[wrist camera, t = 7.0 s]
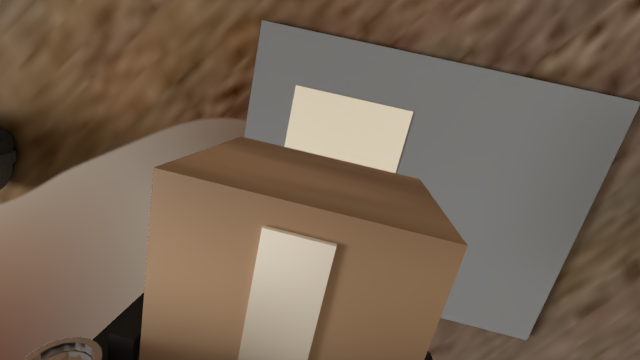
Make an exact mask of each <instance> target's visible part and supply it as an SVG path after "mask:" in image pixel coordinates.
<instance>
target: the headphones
mask: <svg viewBox="0 0 640 360" xmlns="http://www.w3.org/2000/svg"><path fill="white" fill-rule="evenodd" d="M13 147H14V141H13V138H12V137H11V135H10V134H9V133H7V132H6V131H4V130H2V129H0V189H2V188H3V187H4V186H5V185H6V184H7V183H8V181H9V180H10V177H11V174H12V165H13V163H15V161H16V151H15V150H14V149H13Z"/></svg>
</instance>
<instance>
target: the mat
mask: <svg viewBox="0 0 640 360" xmlns="http://www.w3.org/2000/svg"><path fill="white" fill-rule="evenodd" d="M639 106H640V102H638V101H633V100H629V99H624V98H619V97H615V96H610V95H606V94H601V93H596V92H592V91H587V90H582V89H578V88H573V87H569V86H564V85H559V84H555V83H550V82H546V81H541V80H536V79H532V78H527V77H522V76H518V75H513V74H509V73H504V72H499V71H495V70H490V69H485V68H481V67H476V66H472V65H467V64H462V63H458V62H453V61H448V60H444V59H439V58H435V57H430V56H425V55H421V54H416V53H411V52H407V51H402V50H398V49H393V48H388V47H384V46H379V45H375V44H370V43H365V42H361V41H356V40H351V39H347V38H342V37H338V36H333V35H328V34H324V33H319V32H314V31H310V30H305V29H301V28H296V27H291V26H287V25H282V24H277V23H273V22H268V21H264V20H262V23H261V30H260V36H259V43H258V49H257V56H256V63H255V69H254V76H253V82H252V89H251V95H250V102H249V109H248V115H247V122H246V129H245V135H244V137H246V138H250V139H254V140H258V141H262V142H267V143H271V144H275V145H279V146H283V147H288V148H292V149H296V150H300V151H304V152H308V153H313V154H317V155H321V156H325V157H329V158H334V159H338V160H342V161H346V162H350V163H355V164H359V165H363V166H367V167H371V168H376V169H380V170H384V171H388V172H392V173H397V174H401V175H405V176H409V177H413V178H417V179H420V180H421V181H422V183H423V184H424V185H425V187H426V188H427V190H428V191H429V192H430V194H431V195H432V197H433V198H434V199H435V201H436V202H437V203H438V205H439V206H440V208H441V209H442V210H443V212H444V213H445V215H446V216H447V217H448V219H449V220H450V222H451V223H452V224H453V226H454V227H455V228H456V230H457V231H458V233H459V234H460V235H461V237H462V238H463V240H464V241H465V242H466V244H467V245H468V247H467V249H466V252H465V254H464V257H463V260H462V262H461V265H460V268H459V270H458V273H457V275H456V278H455V281H454V283H453V286H452V289H451V291H450V294H449V296H448V299H447V302H446V304H445V307H444V310H443V312H442V315H441V318H444V319H447V320H451V321H455V322H459V323H463V324H466V325H470V326H474V327H478V328H482V329H485V330H489V331H493V332H497V333H501V334H504V335H508V336H512V337H516V338H520V339H523V340H527V339H528V337H529V335H530V332H531V330H532V328H533V326H534V324H535V322H536V320H537V318H538V316H539V314H540V312H541V310H542V308H543V305H544V303H545V301H546V299H547V297H548V295H549V293H550V291H551V289H552V287H553V285H554V283H555V281H556V278H557V276H558V274H559V272H560V270H561V268H562V266H563V264H564V262H565V260H566V258H567V256H568V253H569V251H570V249H571V247H572V245H573V243H574V241H575V239H576V237H577V235H578V233H579V231H580V229H581V226H582V224H583V222H584V220H585V218H586V216H587V214H588V212H589V210H590V208H591V206H592V204H593V202H594V199H595V197H596V195H597V193H598V191H599V189H600V187H601V185H602V183H603V181H604V179H605V177H606V175H607V172H608V170H609V168H610V166H611V164H612V162H613V160H614V158H615V156H616V154H617V152H618V150H619V147H620V145H621V143H622V141H623V139H624V137H625V135H626V133H627V131H628V129H629V127H630V125H631V123H632V120H633V118H634V116H635V114H636V112H637V110H638V108H639Z"/></svg>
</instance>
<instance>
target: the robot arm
mask: <svg viewBox="0 0 640 360" xmlns="http://www.w3.org/2000/svg"><path fill="white" fill-rule="evenodd" d="M143 301H144V293H143V294H142V295H141V296H140V297H139V298H138V299H136V300H135V301H134V302H133V303H132V304H131V305H130V306H129V307H128V308H127V309H126V310H124V311H123V312H122V313H121V314H120V315H119V316H118V317H117V318H116V319H115V320H114V321H112V322H111V323H110V324H109V325H108V326H107V327H106V328H105V329H104V330H103V331H102V332H101V333H99V335H98V336H96V337H95V338H94V339H93V340H91V339H88V338H82V337H72V338H64V339H61V340H56V341H53V342H51V343H48V344H46V345H43V346H41V347H40V348H38V349H36V350H35V351H33V352H31V353H30V354H29V355H28V356H27V357H26V358H25V359H23V360H139V353H140V340H141V327H142V314H143ZM425 360H432V357H431V354H430V353H429V352H427V354H426V357H425Z"/></svg>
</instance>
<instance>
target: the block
mask: <svg viewBox="0 0 640 360" xmlns="http://www.w3.org/2000/svg"><path fill="white" fill-rule="evenodd" d="M467 247H468V245H467V244H466V242H465V241H464V240H463V238H462V237H461V235H460V234H459V233H458V231H457V230H456V228H455V227H454V226H453V224H452V223H451V222H450V220H449V219H448V217H447V216H446V215H445V213H444V212H443V210H442V209H441V208H440V206H439V205H438V203H437V202H436V201H435V199H434V198H433V197H432V195H431V194H430V192H429V191H428V190H427V188H426V187H425V185H424V184H423V183H422V181H421V180H420V179H417V178H413V177H409V176H405V175H401V174H397V173H392V172H388V171H384V170H380V169H376V168H371V167H367V166H363V165H359V164H355V163H350V162H346V161H342V160H338V159H334V158H329V157H325V156H321V155H317V154H313V153H308V152H304V151H300V150H296V149H292V148H288V147H283V146H279V145H275V144H271V143H267V142H262V141H258V140H254V139H250V138H246V137H239V138H236V139H233V140H231V141H228V142H225V143H222V144H219V145H217V146H214V147H211V148H208V149H205V150H203V151H200V152H197V153H194V154H191V155H188V156H185V157H183V158H180V159H177V160H174V161H171V162H168V163H166V164H163V165H160V166H157V167H154V171H153V184H152V196H151V210H150V223H149V236H148V249H147V262H146V275H145V288H144V301H143V314H142V327H141V340H140V353H139V360H425V357H426V354H427V352H428V349H429V346H430V344H431V341H432V339H433V336H434V333H435V331H436V328H437V325H438V323H439V320H440V318H441V315H442V312H443V310H444V307H445V304H446V302H447V299H448V296H449V294H450V291H451V289H452V286H453V283H454V281H455V278H456V275H457V273H458V270H459V268H460V265H461V262H462V260H463V257H464V254H465V252H466V249H467Z"/></svg>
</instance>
